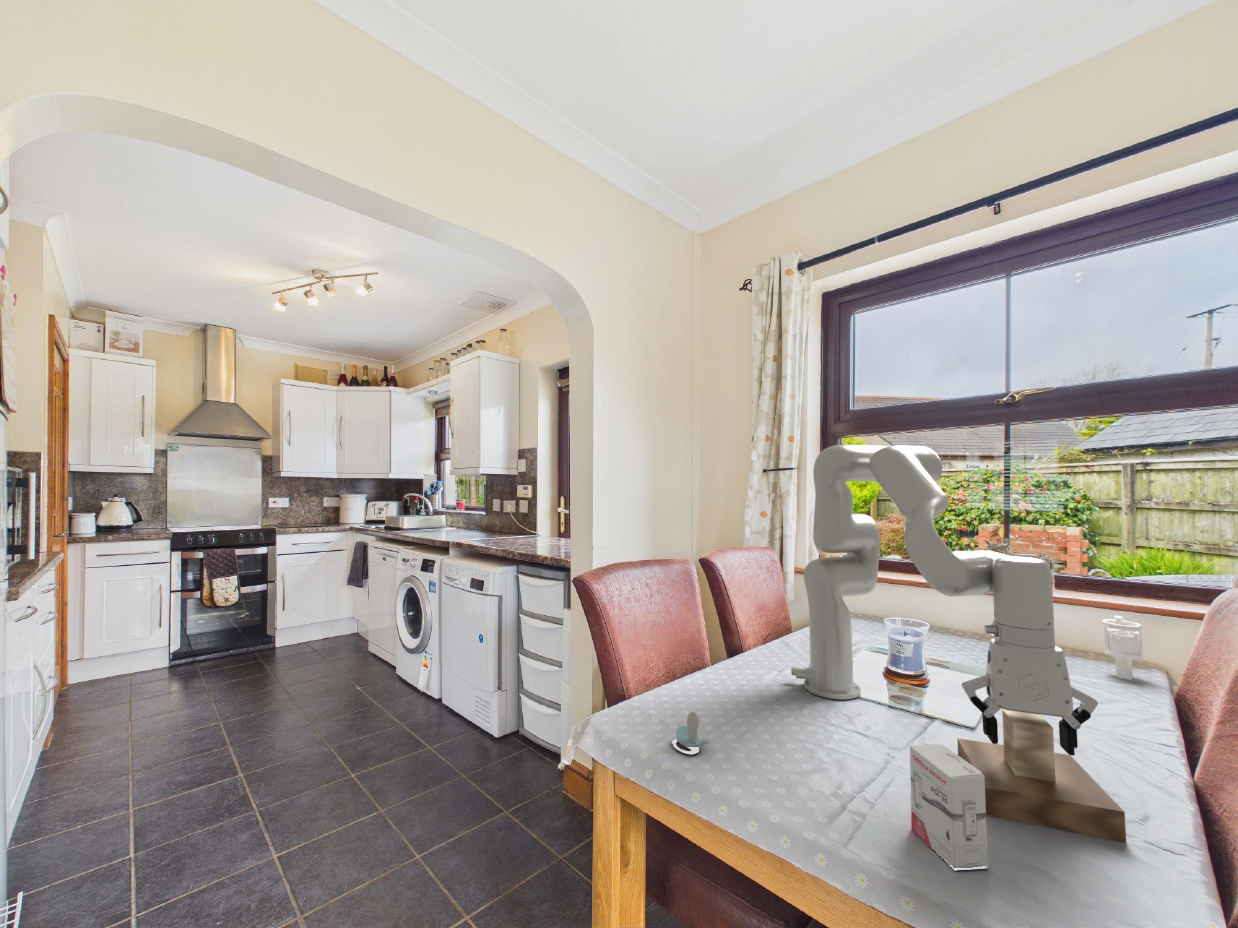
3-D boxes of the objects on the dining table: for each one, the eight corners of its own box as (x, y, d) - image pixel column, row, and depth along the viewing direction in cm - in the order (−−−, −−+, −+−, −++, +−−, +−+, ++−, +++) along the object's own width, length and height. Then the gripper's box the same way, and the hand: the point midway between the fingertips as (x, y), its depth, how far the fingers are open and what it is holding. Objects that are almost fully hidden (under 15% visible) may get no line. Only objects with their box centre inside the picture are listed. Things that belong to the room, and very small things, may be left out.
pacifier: (688, 762, 90) (714, 751, 94) (687, 726, 91) (712, 717, 94) (664, 744, 97) (689, 735, 100) (663, 711, 97) (688, 703, 100)
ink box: (909, 827, 72) (906, 742, 73) (941, 825, 73) (938, 741, 73) (954, 873, 64) (950, 776, 64) (990, 870, 64) (986, 774, 65)
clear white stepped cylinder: (1139, 675, 130) (1135, 617, 131) (1148, 684, 124) (1145, 623, 125) (1102, 670, 134) (1099, 613, 135) (1109, 679, 128) (1106, 619, 129)
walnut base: (986, 815, 75) (985, 787, 75) (958, 761, 90) (957, 738, 90) (1126, 841, 69) (1124, 811, 69) (1071, 779, 84) (1070, 754, 84)
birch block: (1015, 775, 78) (1013, 722, 79) (1004, 759, 83) (1002, 709, 83) (1055, 781, 76) (1053, 727, 77) (1042, 764, 81) (1039, 714, 82)
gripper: (966, 636, 80) (970, 746, 79) (1105, 648, 74) (1112, 768, 73) (954, 624, 87) (958, 726, 86) (1080, 634, 81) (1086, 744, 80)
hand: (1029, 745), depth 80 cm, fingers open, 9 cm apart
